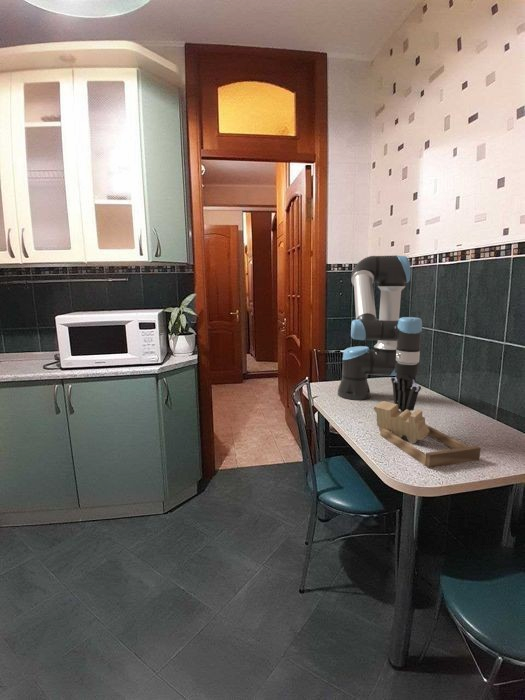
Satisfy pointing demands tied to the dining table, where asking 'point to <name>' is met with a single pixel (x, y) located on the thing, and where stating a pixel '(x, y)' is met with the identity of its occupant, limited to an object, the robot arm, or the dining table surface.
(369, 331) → the robot arm
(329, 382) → the dining table surface
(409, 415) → the toy train
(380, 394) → the dining table surface
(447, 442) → the frame
